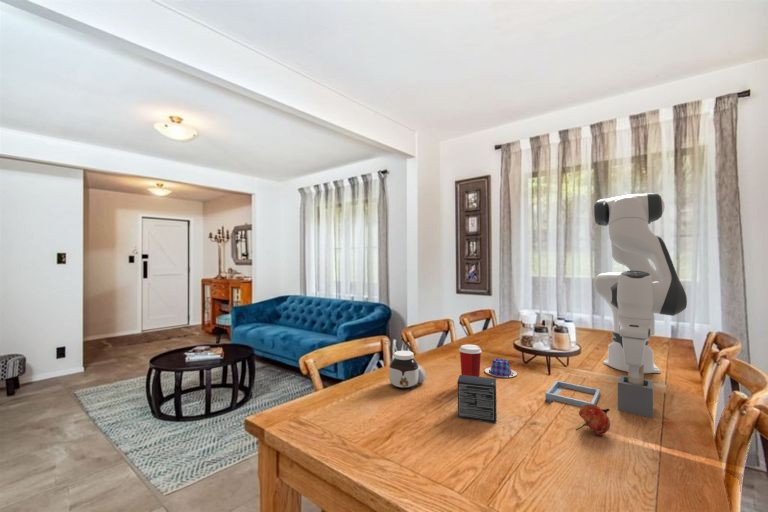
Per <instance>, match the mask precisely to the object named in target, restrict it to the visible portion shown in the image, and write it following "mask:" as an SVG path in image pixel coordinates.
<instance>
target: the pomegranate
mask: <svg viewBox="0 0 768 512" xmlns="http://www.w3.org/2000/svg"><path fill="white" fill-rule="evenodd" d="M610 411H611V409H610V408H609V407H608V408H604V409H602V408H600V406H597V405H590V404H587V405H584V406H583V407H581V408H580V409H579V411H578V416H579V417H580V418H581V419H583V422H584V423H583V425H581V426H579V427H578V428H576V429H575V431H578V430H580V429H583V428H584V427H585V426H587V427H588V428H589V429H590V430H592V432H593V434H595V435H596V436H602V435H604V434H606V433H607V432H608V431H609V430H610V427H611V420H610V417H609V416H608V415H607V414H608V412H610Z"/></svg>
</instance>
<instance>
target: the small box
mask: <svg viewBox="0 0 768 512" xmlns="http://www.w3.org/2000/svg"><path fill="white" fill-rule="evenodd" d="M456 382H457V418H458V419H463V420H469V421H471V420H472V421H478V422H484V423H491V424H497V422H498V421H497V417H498V416H497V413H498V412H497V377H496V378H495V377H486V376H485V377H483V376H479V377H476V376H467V375H461V374H460V375H459V376H458V379H457V381H456Z"/></svg>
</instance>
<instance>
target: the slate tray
mask: <svg viewBox="0 0 768 512" xmlns="http://www.w3.org/2000/svg"><path fill="white" fill-rule="evenodd" d="M563 389H570V390H574V391H578V392H582V393H587V394H593V397H592V399H591V402H590V401H585V400H582V399H577V398H572V397H569V396H568V397H567V396H564V395H560V393H561V392H562V390H563ZM600 396H601V389H598V388H594V387H589V386H584V385H579V384H573V383H569V382H564V381H560V380H555V381H554V382H553V384H552V385H551V386H550V387H549V388H548V389H547V390H546V392H545V402H548V403H554V401H557V402H561V403H565V404H569V405H574V406H577V407H581V408H582V407H583V406H584V405H587V404H590V405H595V406H597V405H596V404H597V403H598V400H599V398H600Z"/></svg>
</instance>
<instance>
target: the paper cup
mask: <svg viewBox="0 0 768 512" xmlns="http://www.w3.org/2000/svg"><path fill="white" fill-rule="evenodd" d="M458 351H459V355H460V356H459V357H460V359H459V360H460V372H461V373H460V375H467V376H476V377H481V376H480V372H481V358H482V357H481V356H482V355H481V354H482V349H481V347H480V346H479V345H477V344H463V345H462V344H461V346H460V347H459V349H458Z"/></svg>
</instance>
